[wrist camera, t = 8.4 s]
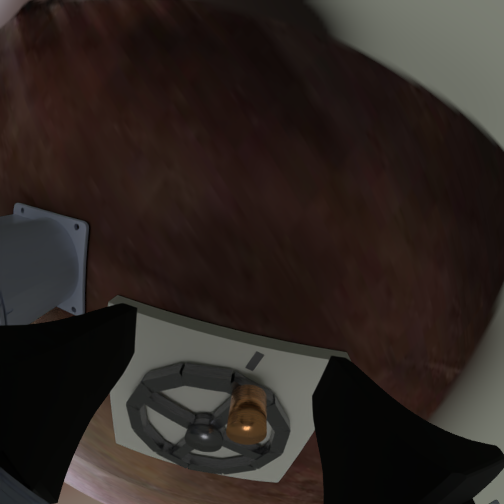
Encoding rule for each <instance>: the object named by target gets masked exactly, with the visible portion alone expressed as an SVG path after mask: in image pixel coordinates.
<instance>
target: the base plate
mask: <svg viewBox="0 0 504 504" xmlns="http://www.w3.org/2000/svg"><path fill="white" fill-rule="evenodd" d="M120 303H125V304H128V305H130V306H133V307H136V308H137V321H136V336H135V353H134V355H133V357H132V359H131V361H130V363H129V365H128V366H127V368H126V370H125V372H124V374H123V375H122V376H121V378H120V379H119V380H118V382H117V383H116V385H115V386H114V387H113V389H112V390H111V391H110V398H111V408H112V417H113V425H114V432H115V438H116V443H117V444H120V445H122V446H125V447H127V448H130V449H132V450H135V451H138V452H140V453H143V454H146V455H149V456H152V457H155V458H158V459H161V460H164V461H167V462H170V463H174V462H171V461H169V460H167V459H165V458H163V457H162V456H160V455H158V454H156V452H153V451H152V450H151V449H150V448H149V447H148V446H147V445H146V444H145V443H144V442H143V441H142V440H141V439H140V438H139V437H138V435H137V434H136V433H135V432H134V431H133V429H132V428H131V424H130V420H129V416H128V412H127V407H126V402H127V400H128V399H129V397H130V395H131V394H132V392H133V391H134V390H135V388H136V387H137V385H138V384H139V382H140V381H141V380H142V378H143V377H144V375H145V374H147V372H150V371H154V370H158V369H162V368H166V367H169V366H173V365H177V364H180V363H184V365H185V364H186V363H191V364H197V365H203V366H209V367H216V368H223V369H230V370H232V374H233V373H234V372H235V371H237V372H238V373H240V374H242V375H244V376H245V377H247V378H249V379H251V380H252V381H254V382H256V383H258V384H260V385H261V386H263V387H265V388H267V389H269V390H271V391H272V392H273V394H275V395H276V397H277V398H278V400H279V402H280V404H281V405H282V407H283V409H284V411H285V412H286V414H287V416H288V418H289V420H290V430H291V432H290V435H289V438H288V441H287V443H286V446H285V449H284V452H283V454H282V455H281V456H279V457H278V458H276V459H274V460H273V461H271V462H270V463H268V464H266V465H265V466H263V467H261V468H260V469H256V470H253V471H247V472H241V473H233V474H225V476H230V477H236V478H243V479H250V480H257V481H266V482H279V481H280V479H281V478H282V477H283V475H284V474H285V473H286V471H287V470H288V468H289V467H290V466H291V464H292V463H293V461H294V460H295V459H296V457H297V456H298V454H299V453H300V451H301V450H302V448H303V447H304V445H305V444H306V442H307V441H308V439H309V438H310V436H311V435H312V433H313V432H314V430H315V427H314V421H313V412H312V395H313V393H314V391H315V389H316V387H317V385H318V383H319V381H320V378H321V376H322V374H323V372H324V370H325V368H326V366H327V364H328V362H329V359H330V357H331V356H338V357H344V358H347V359H348V360H350V358H349V356H348V354H347V352H342V351H336V350H330V349H324V348H318V347H313V346H307V345H302V344H297V343H292V342H287V341H282V340H277V339H273V338H268V337H264V336H259V335H255V334H250V333H246V332H242V331H238V330H234V329H230V328H226V327H222V326H218V325H214V324H210V323H207V322H203V321H199V320H196V319H192V318H189V317H185V316H182V315H178V314H175V313H172V312H168V311H165V310H162V309H158V308H155V307H152V306H149V305H146V304H143V303H140V302H137V301H134V300H131V299H128V298H125V297H122V296H119V295H117V296H116V297H114V298H113V299H112V300H110V301H109V302H108V306H112V305H115V304H120ZM350 361H351V360H350ZM156 393H158V394H159V395H161V396H163V397H164V398H166V399H167V400H169V401H171V402H172V403H174V404H176V405H178V406H179V407H181V408H183V409H184V410H186V411H188V412H190V413H192V414H193V415H196V414H210V415H212V414H213V413H214V412H215V411H216V410H217V409H218V408H219V407H221V406H222V405H223V404H224V403H225V402H226V401H227V400H228V399H229V398H230V397H231V396H232V395H230V394H228V393H227V392H219V391H213V390H206V389H200V388H195V387H189V386H182V387H178V388H173V389H169V390H164V391H160V392H156ZM145 409H146V414H147V420H148V423H149V424H150V425H151V426H152V427H153V428H154V430H155V431H156V432H157V433H158V434H159V435H160V436H161V437H162V438H163V439H164V440H165V441H166V442H167V443H169V444H171V445H173V446H176V445H177V444H178V443H179V442H180V441H182V440H183V439H184V438H185V434H186V431H187V429H186V428H184V427H182V426H180V425H179V424H177V423H175V422H173V421H171V420H170V419H168V418H166V417H165V416H163V415H161V414H159V413H158V412H156V411H154V410H153V409H151V408H150V407H148V406H146V405H145ZM226 429H227V424H226V425H225V431H226ZM271 433H272V427H271V426H270V424H269V423H268V421H267V435H266V438H265V439H264V440H263V441H261V442H259V443H257V444H256V445H258V446H260V447H262V446H264V445H265V444H267V443H268V442H269V440H270V437H271ZM189 454H191V455H196V456H201V457H207V458H213V459H220V460H223V459H230V458H236V457H242V456H244V455H241V454H239V453H237V452H234V451H232V450H229V449H227V448H225V447H223V446H222V447H221V449H219V450H218V451H215V452H202V451H198V450H196V449H194V450H192V451H191V452H190V453H189ZM174 464H176V463H174ZM177 465H178V464H177ZM219 475H221V474H219ZM222 475H224V474H223V473H222Z"/></svg>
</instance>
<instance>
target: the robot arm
mask: <svg viewBox="0 0 504 504" xmlns="http://www.w3.org/2000/svg"><path fill="white" fill-rule="evenodd" d="M77 224H78V225H79V229H78V228H77ZM88 233H89V226H88V224H87V222H85V221H82V220H79V219H75V218H71V217H68V216H64V215H61V214H57V213H54V212H50V211H47V210H43V209H40V208H36V207H33V206H29V205H26V204H22V203H16V204H15V205H14V214H12V215H6V216H1V217H0V504H54V503H58V499H59V495H60V492H61V489H62V485H63V482H64V479H65V476H66V473H67V471H68V468H69V465H70V463H71V460H72V458H73V455H74V453H75V451H76V449H77V447H78V444H79V442H80V440H81V438H82V436H83V434H84V432H85V430H86V428H87V426H88V424H89V422H90V420H91V419H92V417H93V415H94V414H95V412H96V411H97V409H98V408H99V407H100V405H101V404H102V402H103V401H104V400H105V398H106V397H107V396H108V394H109V393H110V391H111V390H112V389H113V387H114V386H115V385H116V383H117V382H118V380H119V379H120V378H121V376H122V375H123V374H124V372H125V370H126V368H127V366H128V365H129V363H130V361H131V359H132V357H133V355H134V353H135V336H136V321H137V308H136V307H133V306H130V305H128V304H125V303H120V304H115V305H112V306H108V307H105V308H101V309H98V310H95V311H91V312H88V313H85V274H86V256H87V243H88ZM56 306H57V307H59V308H61V309H63V310H65V311H67V312H69V313H72V314H74V315H76V316H73V317H69V318H65V319H61V320H56V321H51V322H45V323H38V324H31V323H32V322H34V321H35V320H36V319H38V318H39V317H41V316H42V315H44V314H45V313H47V312H48V311H50V310H51V309H53V308H55V307H56ZM74 308H75V309H76V310H75V309H74ZM312 412H313V421H314V427H315V432H316V437H317V442H318V447H319V452H320V458H321V463H322V470H323V486H324V504H475V503H474V501H473V497H475V496H476V495H477V494H478V493H479V492H480V491H481V490H483V489H484V488H485V487H486V486H487V485H488V484H489V483H490V482H491V481H492V480H493V479H494V478H495V477H496V476H497V475H498V474H499V473H500V472H501V471H502V470H503V468H504V454H503V453H502V451H501V450H500V449H499V448H498V447H497V446H495V445H490V444H485V443H481V442H476V441H472V440H469V439H466V438H463V437H460V436H457V435H455V434H452V433H450V432H448V431H445V430H443V429H441V428H439V427H437V426H435V425H433V424H431V423H429V422H427V421H426V420H424V419H422V418H421V417H419V416H418V415H416V414H414V413H413V412H411V411H410V410H408V409H407V408H405V407H404V406H403V405H401V404H400V403H399V402H397V401H396V400H395V399H394V398H392V397H391V396H390V395H389V394H387V393H386V392H385V391H384V390H383V389H382V388H380V387H379V386H378V385H377V384H376V383H375V382H374V381H373V380H371V379H370V378H369V377H368V376H367V375H366V374H365V373H364V372H363V371H362V370H360V369H359V368H358V367H357V366H356V365H355V364H354V363H352V362H351V361H350V360H348V359H347V358H344V357H338V356H331V357H330V359H329V362H328V364H327V366H326V368H325V370H324V372H323V374H322V376H321V378H320V381H319V383H318V385H317V387H316V389H315V391H314V393H313V395H312ZM489 504H499V502H498V500H494V501H493V502H491V503H489Z"/></svg>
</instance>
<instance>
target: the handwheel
mask: <svg viewBox="0 0 504 504" xmlns="http://www.w3.org/2000/svg"><path fill="white" fill-rule="evenodd" d="M182 386H189V387H195V388H200V389H206V390H213V391H219V392H227V393H228V394H230V395H232V396H231V397H230V398H229V399H228V400H227V401H226V402H225V403H224V404H223V405H222V406H221V407H219V408H218V409H217V410H216V411H215V412H214V413H213V414H212V415H210V414H196V415H193V414H192V413H190V412H188V411H186V410H184V409H183V408H181V407H179V406H178V405H176V404H174V403H172V402H171V401H169V400H167V399H166V398H164V397H163V396H161V395H159V394H158V393H156V392H160V391H164V390H169V389H173V388H178V387H182ZM145 405H146V406H148V407H150V408H151V409H153V410H154V411H156V412H158V413H159V414H161V415H163V416H165V417H166V418H168V419H170V420H171V421H173V422H175V423H177V424H179V425H180V426H182V427H184V428H186V429H187V431H186V434H185V438H184V439H183V440H182V441H180V442H179V443H178V444H177V445H176V446H173V445H171V444H169V443H167V442H166V441H165V440H164V439H163V438H162V437H161V436H160V435H159V434H158V433H157V432H156V431H155V430H154V428H153V427H152V426H151V425H150V424H149V423H148V420H147V414H146V409H145ZM126 407H127V412H128V416H129V420H130V424H131V428H132V429H133V431H134V432H135V433H136V434H137V435H138V437H139V438H140V439H141V440H142V441H143V442H144V443H145V444H146V445H147V446H148V447H149V448H150V449H151V450H152V451H153V452H156V454H158V455H160V456H162V457H163V458H165V459H167V460H169V461H171V462H174V463H176V464H178V465H180V466H182V467H184V468H187V467H188V469H191V470H196V471H202V472H208V473H214V474H221V475H222V473H223V474H224V475H225V474H233V473H241V472H247V471H253V470H256V469H260V468H261V467H263V466H265V465H266V464H268V463H270V462H271V461H273V460H274V459H276V458H278V457H279V456H281V455H282V454H283V452H284V449H285V446H286V443H287V441H288V438H289V435H290V432H291V430H290V420H289V418H288V416H287V414H286V412H285V411H284V409H283V407H282V405H281V404H280V402H279V400H278V398H277V397H276V395H275V394H273V392H272V391H271V390H269V389H267V388H265V387H263V386H261V385H260V384H258V383H256V382H254V381H252V380H251V379H249V378H247V377H245V376H244V375H242V374H240V373H238V372H237V371H235V372H234V373H233V374H232V370H230V369H223V368H216V367H209V366H203V365H197V364H191V363H186V364H185V365H184V363H180V364H177V365H173V366H169V367H166V368H162V369H158V370H154V371H150V372H147V374H145V375H144V377H143V378H142V380H141V381H140V382H139V384H138V385H137V387H136V388H135V390H134V391H133V392H132V394H131V395H130V397H129V399H128V400H127V402H126ZM267 421H268V423H269V424H270V426H271V427H272V433H271V437H270V440H269V442H268V443H267V444H265V445H264V446H262V447H260V446H258V445H256V444H257V443H259V442H261V441H263V440H264V439H265V438H266V435H267ZM226 424H227V429H226V431H225V425H226ZM222 446H223V447H225V448H227V449H229V450H232V451H234V452H237V453H239V454H241V455H244V456H242V457H236V458H230V459H223V460H220V459H213V458H207V457H201V456H196V455H191V454H189V453H190V452H191V451H192V450H194V449H196V450H198V451H202V452H215V451H218V450H219V449H221V447H222Z"/></svg>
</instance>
